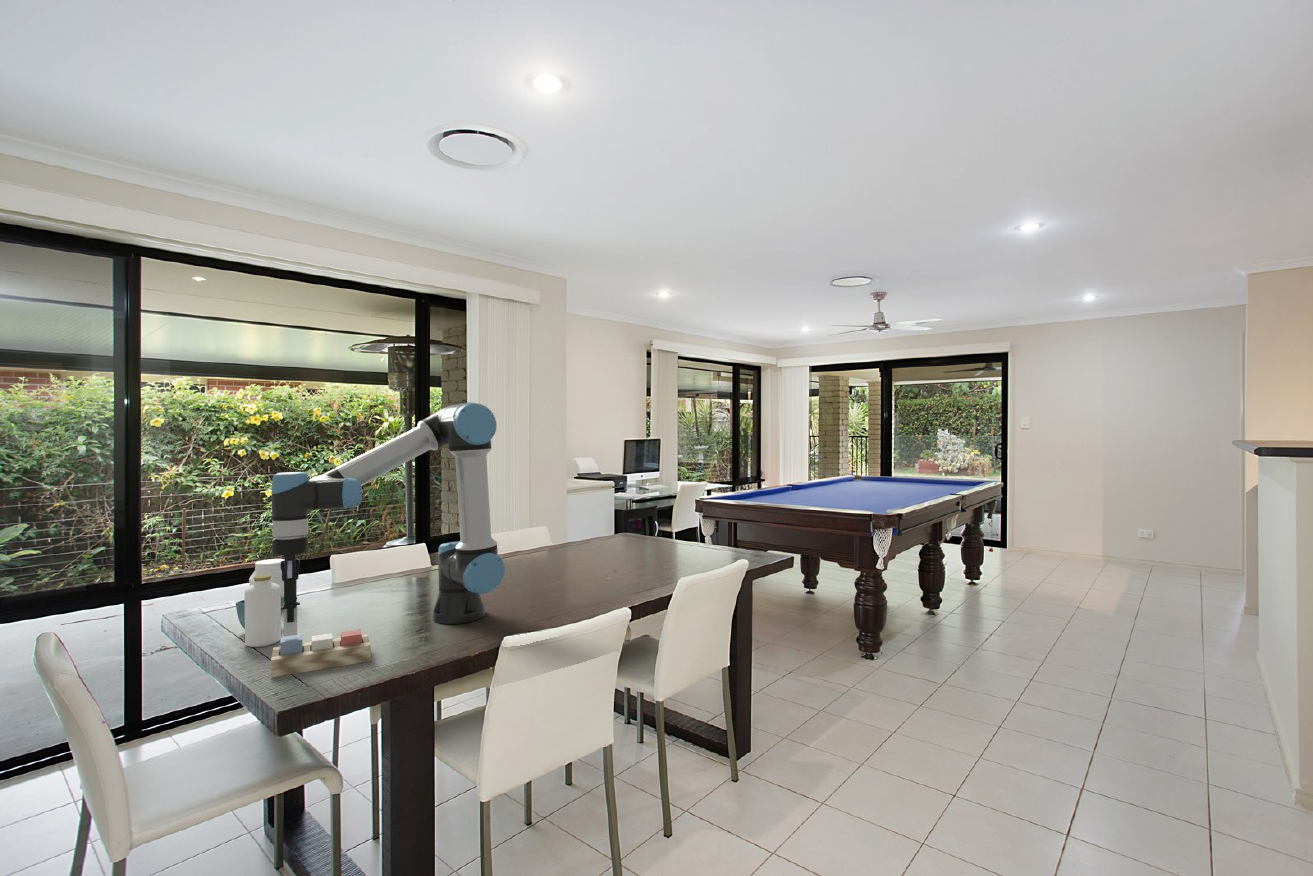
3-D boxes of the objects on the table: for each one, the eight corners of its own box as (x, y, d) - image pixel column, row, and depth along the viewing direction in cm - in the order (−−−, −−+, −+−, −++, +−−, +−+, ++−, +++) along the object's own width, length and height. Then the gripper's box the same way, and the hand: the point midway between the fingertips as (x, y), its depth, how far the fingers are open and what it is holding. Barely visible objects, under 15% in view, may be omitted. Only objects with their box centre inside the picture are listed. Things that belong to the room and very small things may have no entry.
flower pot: (261, 636, 176) (261, 604, 176) (234, 634, 178) (234, 602, 178) (285, 626, 185) (285, 595, 185) (260, 624, 187) (259, 594, 186)
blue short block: (302, 654, 155) (302, 634, 155) (302, 660, 151) (302, 639, 151) (281, 657, 153) (281, 637, 153) (280, 663, 149) (280, 642, 149)
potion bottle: (255, 638, 174) (254, 573, 174) (287, 637, 175) (286, 572, 174) (238, 649, 166) (237, 580, 165) (271, 647, 166) (270, 579, 166)
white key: (332, 653, 159) (332, 633, 159) (332, 658, 155) (332, 638, 155) (311, 656, 156) (311, 636, 156) (311, 662, 152) (311, 641, 152)
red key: (360, 648, 162) (360, 629, 162) (361, 654, 158) (361, 634, 158) (341, 651, 160) (340, 632, 159) (341, 657, 156) (341, 637, 155)
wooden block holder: (367, 649, 165) (367, 633, 165) (370, 661, 156) (370, 645, 156) (273, 663, 155) (273, 647, 155) (271, 677, 146) (271, 660, 146)
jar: (284, 601, 212) (284, 556, 212) (295, 606, 206) (295, 560, 206) (245, 608, 204) (244, 562, 203) (255, 614, 197) (254, 566, 197)
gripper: (273, 534, 156) (274, 629, 156) (270, 542, 145) (270, 645, 145) (308, 531, 160) (308, 625, 160) (307, 539, 148) (308, 639, 148)
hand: (290, 634), depth 152 cm, fingers closed
